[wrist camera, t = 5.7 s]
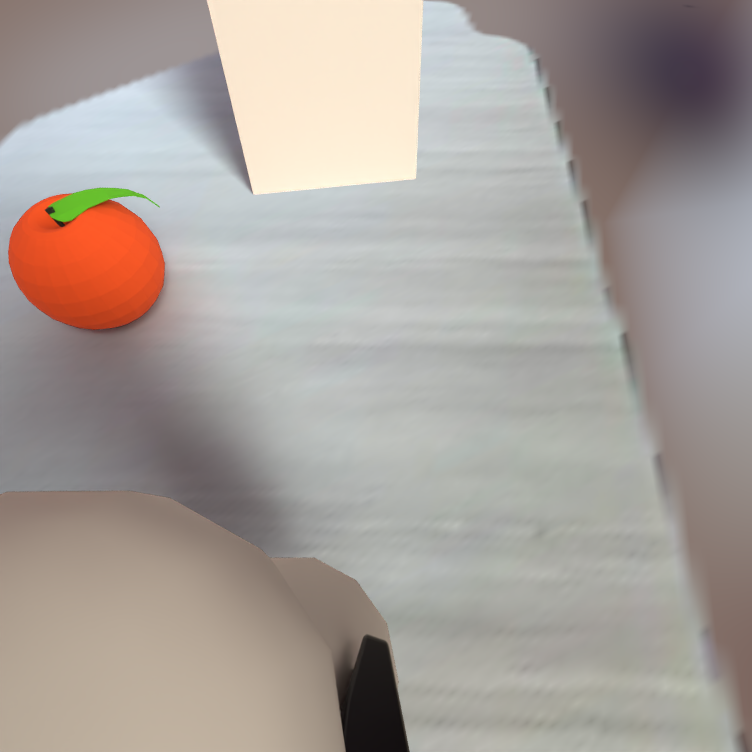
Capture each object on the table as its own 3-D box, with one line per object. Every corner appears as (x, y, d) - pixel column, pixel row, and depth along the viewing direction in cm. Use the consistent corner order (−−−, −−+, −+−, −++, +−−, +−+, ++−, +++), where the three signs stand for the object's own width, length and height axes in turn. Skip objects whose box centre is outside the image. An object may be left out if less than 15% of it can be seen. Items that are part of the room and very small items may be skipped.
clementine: (158, 235, 30) (100, 131, 23) (221, 293, 27) (176, 196, 21) (41, 304, 27) (-60, 208, 21) (100, 376, 25) (8, 292, 18)
